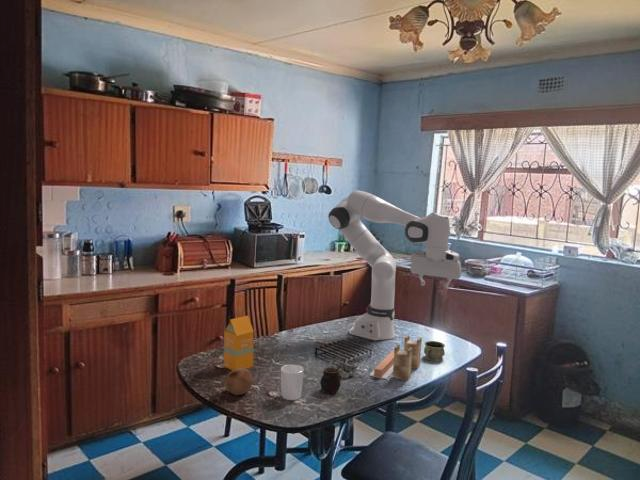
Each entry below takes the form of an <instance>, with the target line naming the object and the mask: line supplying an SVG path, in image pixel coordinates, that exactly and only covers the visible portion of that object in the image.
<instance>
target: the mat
mask: <svg viewBox="0 0 640 480" xmlns="http://www.w3.org/2000/svg"><path fill="white" fill-rule="evenodd" d="M392 375H393V366H392V367H391V368H390V369H389V370H388V371H387V372H386V373H385V374H384V375H383V376H382V377H377V376H374V370H372V371H371V372H370V374H369V377H373V378H377V379H382V380H386V381H387V380H388V379H389V377H391V376H392Z"/></svg>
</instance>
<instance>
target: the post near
mask: <svg viewBox="0 0 640 480" xmlns="http://www.w3.org/2000/svg"><path fill="white" fill-rule="evenodd" d="M400 348H401V347H400V344H397V345H396V346H395V347H394V349H393V350H394V364H393V373H392V378H393V379H397V380H402V381H405V382H408V381H409V380H410V379H411V377H412V375H411V374H412V368H411V364H412V349H413V348H412V347H410V348H409V349H408V350H407V352H406V351H404V350H401V349H400Z"/></svg>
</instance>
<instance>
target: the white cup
mask: <svg viewBox="0 0 640 480" xmlns="http://www.w3.org/2000/svg"><path fill="white" fill-rule="evenodd" d="M303 379H304V367H303V366H301V365H298V364H285V365H283V366H281V368H280V389H281V398H282V399H284V400H287V401H297V400H299V399H301V397H302V390H303V381H304V380H303Z"/></svg>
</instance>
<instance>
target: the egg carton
mask: <svg viewBox="0 0 640 480" xmlns="http://www.w3.org/2000/svg"><path fill="white" fill-rule="evenodd" d="M341 364H342V366H341V367H340V368H339V369H338V370H339V374H338V376H340V378H341V379H349V377H353V378H355V377H356V374H357V369H358V368H359V367H358V366H357V365H355V364H350V363H347V362H344V361H343V360H342V361H339V360H338V361H329V365H330V367H334V368H338V367H339V366H340V365H341ZM344 370H345V371H344Z"/></svg>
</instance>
